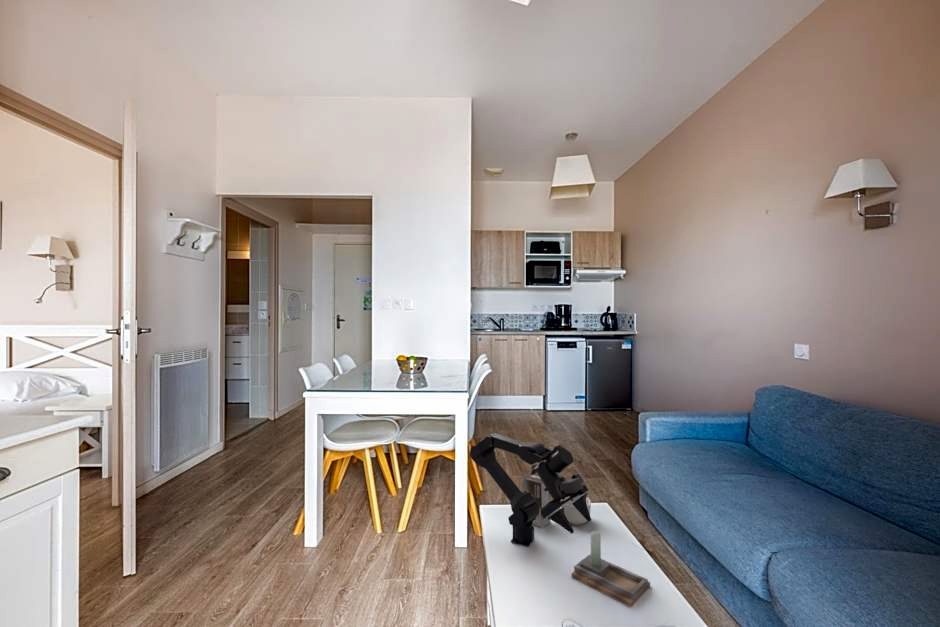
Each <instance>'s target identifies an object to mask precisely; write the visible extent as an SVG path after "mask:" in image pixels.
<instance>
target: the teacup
mask: <svg viewBox="0 0 940 627" xmlns="http://www.w3.org/2000/svg"><path fill="white" fill-rule="evenodd" d="M566 498H567V497H566ZM561 501H562V499H561ZM573 502H574V501H571V500H570V501H568V502H567V503H565V504H563V505H562V506H561V507H560V508H563V507H564V514H565V516H566V518H567V519H568V521H569V523H570V525H572V524H573V525H575V526H576V525H577V526H580V525H584V524H585V523H586V522H588V521H587V520H586V519H585V518H584V517H583V516H582V514H581V513H580V512H579V511H578V510H577V509H576V508H575V507H574V505H573V504H572V503H573ZM586 504H587V508H588V511H589V514H590V515H591V508H592V507H591V505H592V501H591V500H590V498H589V497H588V496H586Z"/></svg>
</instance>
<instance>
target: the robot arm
mask: <svg viewBox="0 0 940 627" xmlns="http://www.w3.org/2000/svg"><path fill="white" fill-rule="evenodd" d="M496 449H499V450H501V451H505V452H508V453H510V454H513V455H515V456H518V457H519V459H520V460H521V461H523V462H525V463H526V464H528V465H532V466H531V472H530V474H532V475H538V476H539V477H540V479H541V480H542V482H543V484H544V485H545V487H546V488H545V489H544V490H545V492H547V491H548V492H549V493H550V496H551V498H552V500H550V502H549V503H547V504H546V505H545V506H544V507H542V508H541V515H542V516H543V518H546V517H548V516H550V517H548V518H547V519H548V520H549V519H550V521H552V522H554V523H555V524H557V525H559V526H560V527H561V528H563V529H564V530H566V531H567V532H568V533H569V534H573V533H575V530H574V529H573V526H572V524H571V523H569V521H568V519H567V518H566V516H565V514H564V507H563V508H562V507H561V506H562V505H563V504H565V503H567V502H568V501H570V500H571V501H574V502H573V503H572V504H573V505H574V507H575V508H576V509H577V510H578V511H579V512H580V513H581V514H582V516H583V517H584V518H585V519H586V520H587V522H591V521H592V518H591V513H590V514H589V511H588V508H587V504H586V497H588V492H589V490H590V489H589V488H588V487H587V485H586V484H584V479H583V478H582V476H581V475H580V473H574V474H572V475H571V478H570V479H566V477H565V476H560V474H561V473H562V472H563V471H565V470H566V469H567V468H568V467H570V466H571V465H572V464H573V463H574V457H573V455H572V453H571V451H569V450H567V449H566V448H565V447H562V446H561V444H557V445H555V446H554V448H553V449H550V448H548V447H545V445H544V444H543V443H541V442H536V441H535V442H534V441H527V442H523V441H520V440H517V439H513V438H510V437H507V436H504V435H502V434H500V433H497V432H494V433H491V434H488V435H487V436H486V437H485V438H483V440H481V441H479V442H478V443H476V444H475V445H472V446H471V447H470V449H469V457H470V459H471V460H472V461H473V462H474V463H475V464H476V465H477V466H480V467H481V468H483V469H485V470H486V472H487V473H488V474H489V476H490V477H491V478H492V479H493V480H494V482H495V484H496V485H497V486H498V487H499V489H501V491H502V492H503V494H504V495H505V496H506V498H507V499H508V501H509V502H510V508H511V511H512V514H511V515H509V516H508V522H509V524H510V525H511V526H512V538H511V540H510V543H512V544H516V545H521V546H526V547H530V545H532V543H533V542H534V540H535V538H536V537H535V527H534V524H533V522H532V521H534V520H536V517H537V516H538V515H539V505H538V504H537V503H536V502H537V500H535V499H534V498H533V496H532V495H531V493H529V492H528V493H526V494H525V493H523V492H521V489H520V488H519V487H518V486H517V484H516V483H515V481H513V479H512V478H511V477H510V476H509V474H508V473H507V472H506V471H505V469H504V468H503V467H502V465H501V464H500V463H499V462H498V461H497V459H496V458H497V457H496V452H495V450H496ZM536 463H538V464H536ZM566 497H567V498H566ZM561 499H562V500H561Z"/></svg>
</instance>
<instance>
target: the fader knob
mask: <svg viewBox="0 0 940 627" xmlns="http://www.w3.org/2000/svg"><path fill="white" fill-rule="evenodd" d="M601 538H602V536H601V532H599V531H598V530H592V531H591V532H590V554H591V557H590V558H588V559H587V560H586V561H584V562H583V563H582V564H581V567H582V568H584V569H586V570H588V571H590V572H593V573H595V574H597V575H599V576H601V577H603V576H605V575H606V574H607V573H608V572H609V571H610V563H611V562H610V563H608V562H609V561H607V562H605V561H606V560H605V561H603V560H604V559H603V560H601V559H602V554H601V553H602V549H601V548H602V547H601V546H602V545H601V542H602V541H601V540H602V539H601Z"/></svg>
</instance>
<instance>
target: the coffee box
mask: <svg viewBox="0 0 940 627" xmlns="http://www.w3.org/2000/svg"><path fill="white" fill-rule="evenodd" d="M520 481H521V482H520V483H521V484H520V487H521V488H520V491H521V492H523V493H525V494H526V493H528V492H529V493H531V495H532V496H533V498H534V499H535V500H537V502H536V503H537V504H538V505H539V515H538V516H537V517H536V520H534V521H532V522H533V526H536V527H540V528H544V527H545V526H546V525H548V524H549V523H551V520H550V519H549V520H548V519H547V518H548V517H550V516H548V517H546V518H543V516H542V515H541V508H542V507H544V506H545V505H546V504H547V503H549V502H550V501H551V499H550V496H551V495H550V493H549V492H548V491H547V492H545V490H544V489H545V488H546V487H545V485H544V484H543V482H542V480H541V479H540V477H539V476H538V474H534V475H532V474H531V472H529V473H527V474H525V475H524V476H522V477H521V478H520Z"/></svg>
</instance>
